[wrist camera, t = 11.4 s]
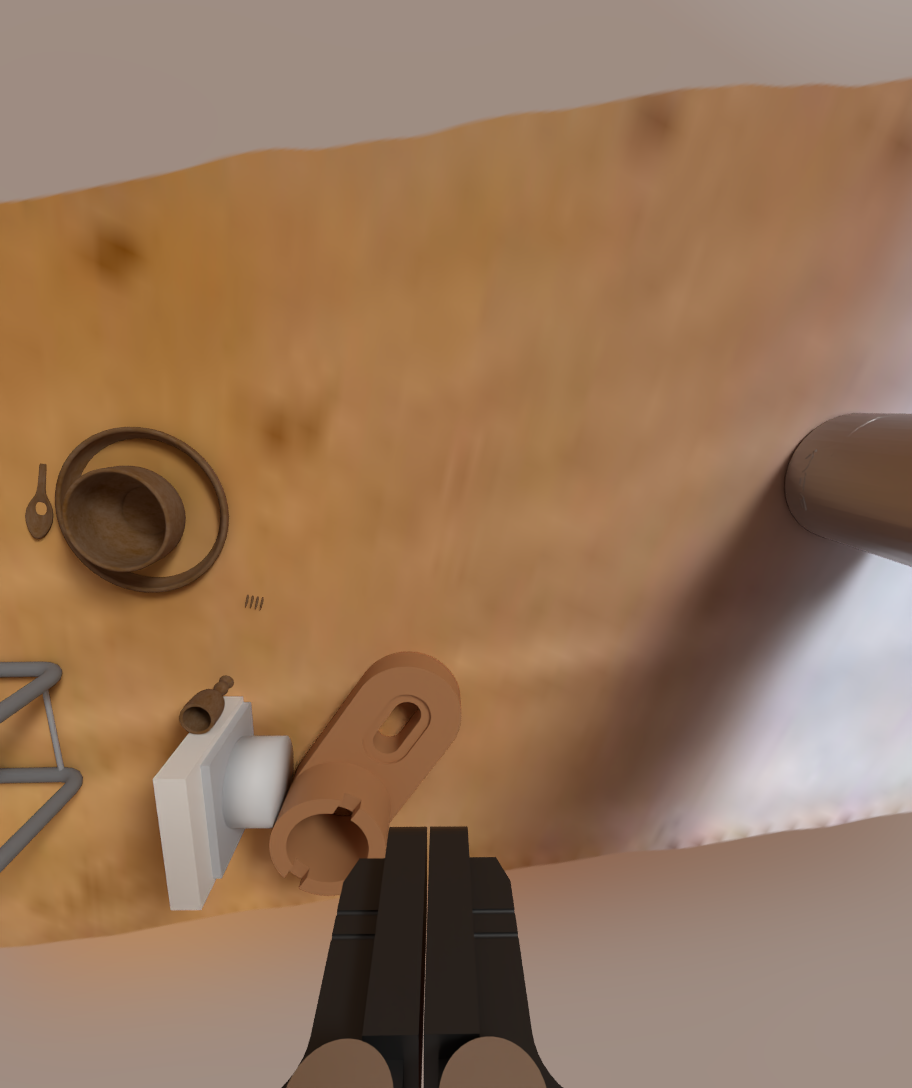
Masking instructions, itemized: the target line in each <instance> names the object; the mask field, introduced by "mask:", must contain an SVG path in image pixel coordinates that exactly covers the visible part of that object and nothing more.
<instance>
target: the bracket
mask: <svg viewBox="0 0 912 1088" xmlns="http://www.w3.org/2000/svg"><path fill="white" fill-rule="evenodd" d="M403 702H411V703H414V704H415V705H417V706H418V707H419V708H418V709H417V711H416V712H415V713H414V715H413V716H412V717H411V719H410V720H409V721H408V723H407V724H406V725H405V727H404V728H403V729H402V731H401V732H400V733H399V734H397V735H395V736H391V737H389V736H384V735H382V734H381V733H380V732H379V731H378V730H379V728H380V727H381V726H382V724H383V723H384V722H385V720H386V719H387V718H388V716H389V715H390V714H391V712H392V711H393V710H394V708H395V707H396V706H397V705H398V704H400V703H403ZM460 725H461V700H460V691H459V686H458V684H457V681H456V679H455V677H454V676H453V674H452V673H451V671H450V670H449V669H448V668H447V667H446V666H445V665H444V664H443V663H441V662H440V661H438V660H437V659H435V658H433V657H431V656H429V655H426V654H422V653H418V652H399V653H394V654H391V655H388V656H385V657H383V658H381V659H380V660H378V661H377V662H375V663H374V664H373V665H372V666H371V667H370V668H369V669H368V670H367V671H366V672H365V674H364V675H363V676H362V678H361V679H360V681H359V682H358V683H357V685H356V686H355V687H354V689H353V690H352V692H351V693H350V694H349V696H348V697H347V699H346V700H345V701H344V703H343V704H342V706H341V707H340V708H339V710H338V711H337V713H336V714H335V715H334V717H333V718H332V719H331V721H330V722H329V724H328V725H327V726H326V728H325V729H324V731H323V732H322V733H321V735H320V736H319V738H318V739H317V740H316V742H315V743H314V744H313V746H312V747H311V749H310V750H309V751H308V753H307V754H306V756H305V757H304V758H303V760H302V761H301V763H300V764H299V766H298V768H297V770H296V773H295V775H294V778H293V780H292V783H291V785H290V788H289V790H288V793H287V795H286V798H285V800H284V803H283V805H282V807H281V810H280V812H279V815H278V817H277V820H276V822H275V825H274V827H273V830H272V832H271V836H270V841H269V851H270V856H271V859H272V862H273V864H274V866H275V868H276V869H277V871H278V872H279V874H280V875H281V876H282V877H283V878H285V876H286V875H287V874H288V872H289V871H290V872H291V873H292V874H294V875H295V876H297V877H299V878H301V882H300V886H299V889H301V890H303V891H305V892H308V893H312V894H316V895H324V896H335V895H341V890H342V885H343V882H344V880H345V879H346V877H347V876H348V874H349V873H350V872H351V870H352V869H353V867H354V866H355V864H356V863H357V861H358V860H359V858H385V852H386V845H387V837H388V829H389V823H390V822H391V821H392V819H393V818H394V817H395V815H396V814H397V813H398V812H399V810H400V809H401V808H402V807H403V805H404V804H405V803H406V801H407V800H408V799H409V798H410V796H411V795H412V794H413V792H414V791H415V790H416V789H417V787H418V786H419V785H420V784H421V782H422V781H423V780H424V778H425V777H426V776H427V775H428V773H429V772H430V771H431V769H432V768H433V767H434V766H435V764H436V763H437V762H438V761H439V759H440V758H441V757H442V755H443V754H444V753H445V752H446V750H447V749H448V748H449V746H450V745H451V744H452V743H453V741H454V740H455V738H456V736H457V734H458V731H459V728H460ZM338 806H339V807H343V808H346V809H348V810H350V811H352V815H351V816H339V815H334V814H333V813H334V811H335V810H336V809H337V807H338Z"/></svg>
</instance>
